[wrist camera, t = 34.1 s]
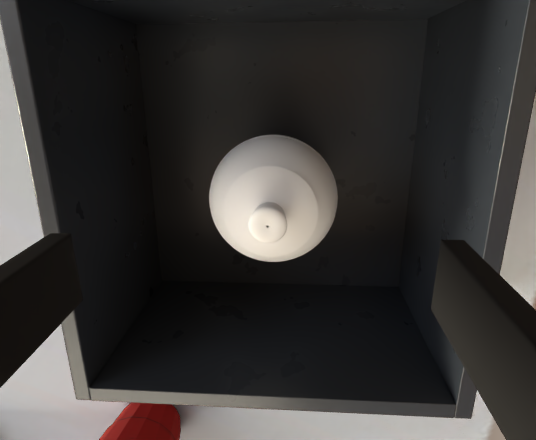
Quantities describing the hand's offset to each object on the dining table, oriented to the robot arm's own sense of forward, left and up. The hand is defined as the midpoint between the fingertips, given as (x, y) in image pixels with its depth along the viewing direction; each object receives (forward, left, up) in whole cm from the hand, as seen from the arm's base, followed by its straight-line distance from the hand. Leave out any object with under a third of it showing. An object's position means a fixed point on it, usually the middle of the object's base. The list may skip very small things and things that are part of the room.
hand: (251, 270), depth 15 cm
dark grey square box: (0, 0, -19) cm, 19 cm away
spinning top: (0, 0, -18) cm, 18 cm away
